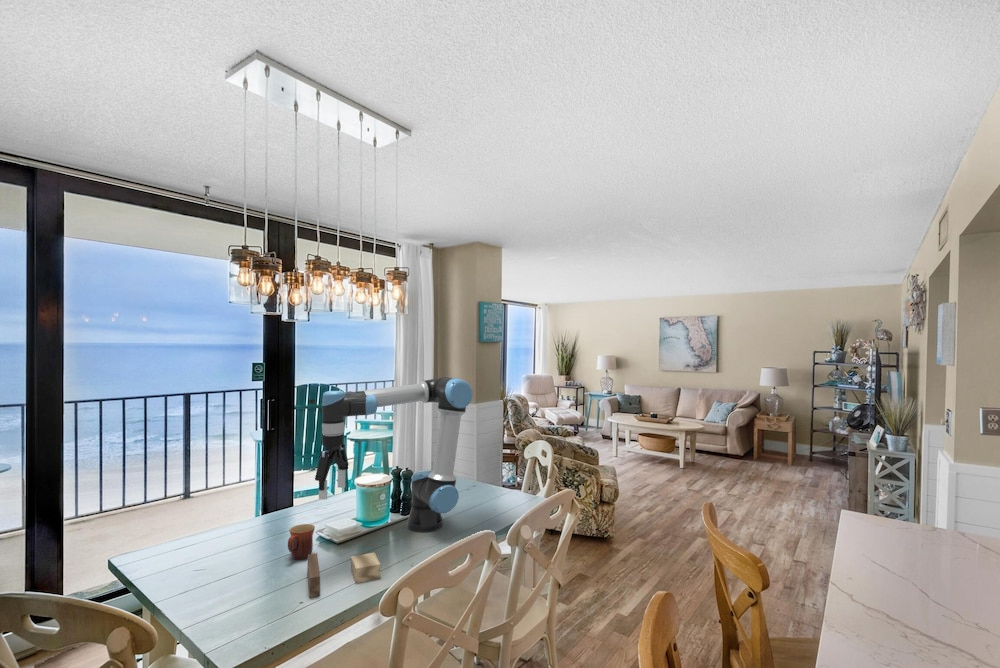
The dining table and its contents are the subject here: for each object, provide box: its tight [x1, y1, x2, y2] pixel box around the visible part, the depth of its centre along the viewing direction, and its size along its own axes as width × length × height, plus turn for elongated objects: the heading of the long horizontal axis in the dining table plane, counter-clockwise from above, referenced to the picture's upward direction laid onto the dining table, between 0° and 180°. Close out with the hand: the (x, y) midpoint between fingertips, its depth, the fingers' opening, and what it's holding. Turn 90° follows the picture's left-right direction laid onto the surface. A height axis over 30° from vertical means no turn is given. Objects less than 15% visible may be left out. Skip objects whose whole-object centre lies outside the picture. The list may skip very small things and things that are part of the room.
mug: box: [287, 523, 316, 561], centre depth 175 cm, size 12×9×10 cm
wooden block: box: [307, 552, 321, 599], centre depth 157 cm, size 3×18×6 cm, turn 24°
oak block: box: [350, 552, 381, 584], centre depth 164 cm, size 8×10×5 cm
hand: (332, 493), depth 174 cm, fingers open, 13 cm apart
